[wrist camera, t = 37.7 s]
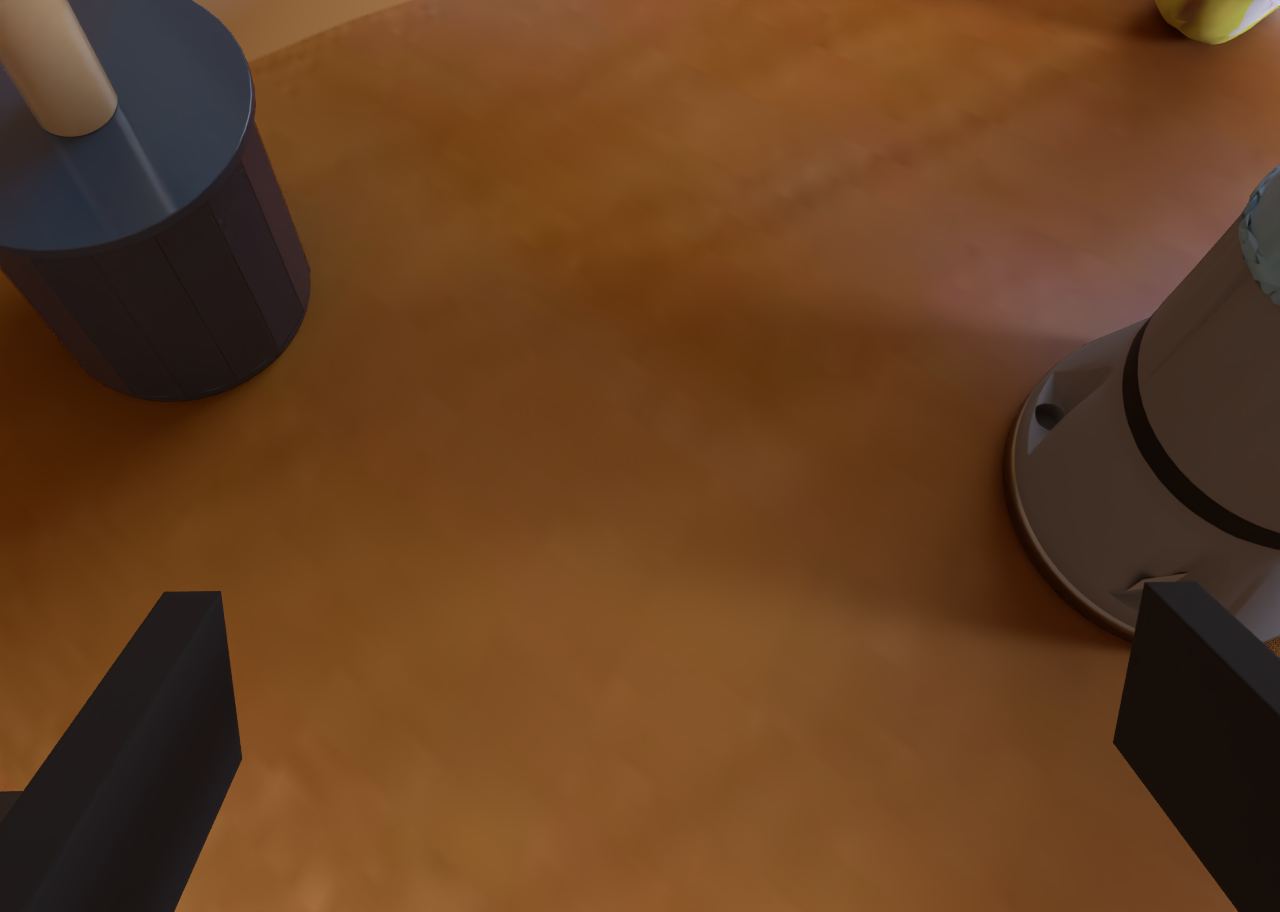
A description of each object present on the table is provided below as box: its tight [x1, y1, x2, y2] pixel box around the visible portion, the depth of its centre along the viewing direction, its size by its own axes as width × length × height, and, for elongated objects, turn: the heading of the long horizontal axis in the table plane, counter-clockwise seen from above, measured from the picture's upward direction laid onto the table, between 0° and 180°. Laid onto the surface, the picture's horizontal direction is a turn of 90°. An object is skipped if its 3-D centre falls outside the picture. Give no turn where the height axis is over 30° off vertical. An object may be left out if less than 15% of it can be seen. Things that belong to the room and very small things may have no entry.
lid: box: [0, 0, 256, 259], centre depth 39 cm, size 13×13×10 cm
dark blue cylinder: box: [0, 120, 310, 401], centre depth 49 cm, size 12×12×12 cm
